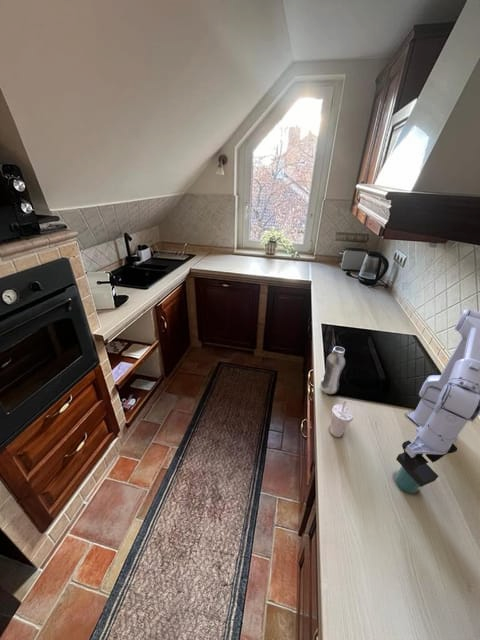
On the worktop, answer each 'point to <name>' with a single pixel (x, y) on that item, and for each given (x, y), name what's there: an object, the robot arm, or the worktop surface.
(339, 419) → the smoothie
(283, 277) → the worktop surface
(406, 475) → the teal cup
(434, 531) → the worktop surface
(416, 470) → the black tile
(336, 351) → the plastic bottle
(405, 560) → the worktop surface
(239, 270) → the worktop surface
